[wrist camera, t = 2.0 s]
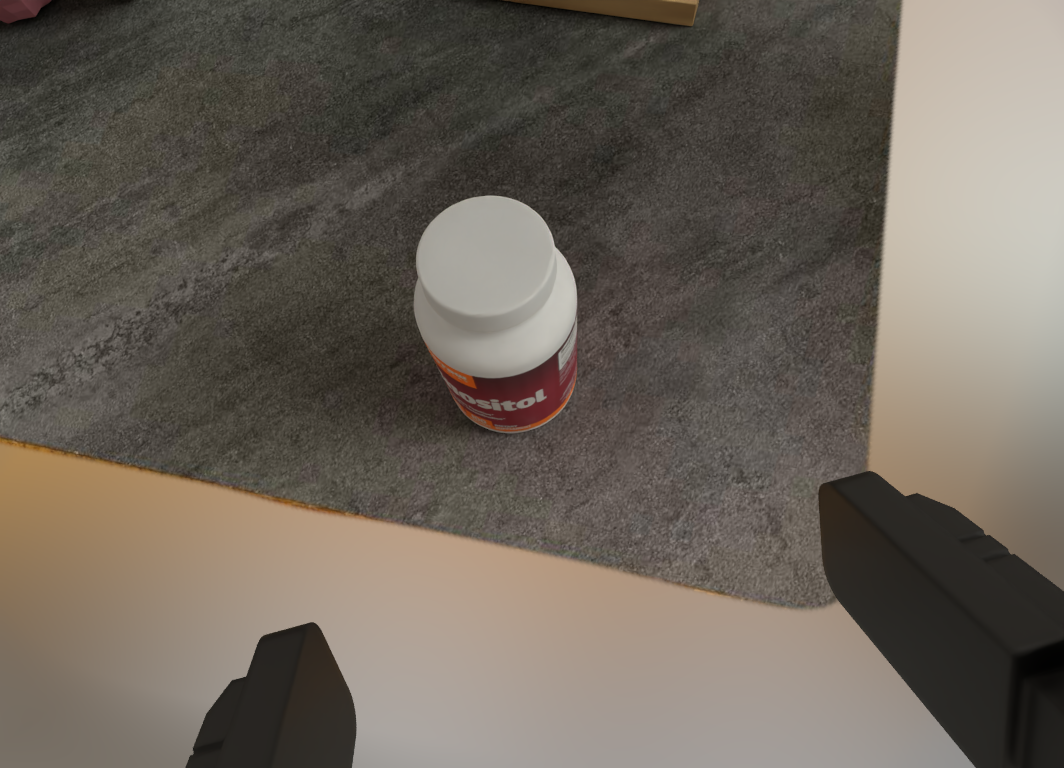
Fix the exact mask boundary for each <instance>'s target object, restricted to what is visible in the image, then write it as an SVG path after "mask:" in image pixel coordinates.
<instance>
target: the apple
mask: <svg viewBox="0 0 1064 768" xmlns="http://www.w3.org/2000/svg"><path fill="white" fill-rule="evenodd" d="M51 1H52V0H0V20H1V21H3V22H5V23H8V24H9V23H12V22H14V21H17V20H21V19H26V18H31V17H36V15H37V13H38V12H39V10H40V9H41V8H42V7H43V6H45V5H47V4H48V3H49V2H51Z"/></svg>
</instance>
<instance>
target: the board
mask: <svg viewBox="0 0 1064 768" xmlns="http://www.w3.org/2000/svg"><path fill="white" fill-rule="evenodd" d="M502 1H510V2H517V3H524V4H531V5H539V6H546V7H553V8H561V9H568V10H575V11H583V12H590V13H597V14H605V15H612V16H619V17H627V18H634V19H641V20H649V21H656V22H663V23H671V24H678V25H685V26H693V23H694V19H695V15H696V11H697V8H698V4H699V0H502Z"/></svg>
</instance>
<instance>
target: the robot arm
mask: <svg viewBox="0 0 1064 768" xmlns="http://www.w3.org/2000/svg"><path fill="white" fill-rule="evenodd" d="M818 495H819V513H820V529H821V545H822V560H823V566H824V571H825V574H826V577H827V580H828V582H829V585H830V587H831V589H832V591H833V593H834V594H835V596H836V598H837V599H838V601H839V602H840V603H841V605H842V606H843V607H844V608H845V609H846V611H847V612H848V613H849V614H850V615H851V617H852V618H853V619H854V620H855V621H856V623H857V624H858V625H859V626H860V628H861V629H862V630H863V631H864V632H865V634H866V635H867V636H868V637H869V638H870V640H871V641H872V642H873V643H874V645H875V646H876V647H877V648H878V649H879V651H880V652H881V653H882V654H883V656H884V657H885V658H886V659H887V660H888V661H889V663H890V664H891V665H892V666H893V668H894V669H895V670H896V671H897V672H898V674H899V675H900V676H901V677H902V679H903V680H904V681H905V682H906V683H907V685H908V686H909V687H910V688H911V690H912V691H913V692H914V693H915V694H916V696H917V697H918V698H919V699H920V700H921V702H922V703H923V704H924V705H925V707H926V708H927V709H928V710H929V711H930V713H931V714H932V715H933V716H934V717H935V719H936V720H937V721H938V722H939V723H940V725H941V726H942V727H943V728H944V730H945V731H946V732H947V733H948V734H949V736H950V737H951V738H952V739H953V740H954V742H955V743H956V744H957V745H958V746H959V748H960V749H961V750H962V751H963V752H964V754H965V755H966V756H967V757H968V759H969V760H970V761H971V762H972V763H973V765H974V766H975V767H976V768H1064V591H1062V590H1061V589H1060V588H1059V587H1057V586H1056V585H1055V584H1053V583H1052V582H1051V581H1049V580H1048V579H1047V578H1045V577H1044V576H1043V575H1041V574H1040V573H1039V572H1037V571H1036V570H1035V569H1034V568H1032V567H1031V566H1029V565H1028V564H1027V563H1026V562H1024V561H1023V560H1022V559H1020V558H1019V557H1018V556H1016V555H1015V554H1013V555H1011V554H1010V553H1009V551H1008V549H1007V548H1006V547H1005V546H1003V545H1002V544H1001V543H999V542H998V541H997V540H995V539H994V538H993V537H991V536H990V535H987V536H986V535H985V534H984V531H983V530H982V529H981V528H980V527H978V526H977V525H976V524H974V523H973V522H972V521H970V520H969V519H968V518H967V517H965V516H964V515H962V514H961V513H960V512H959V511H957V510H956V509H955V508H952V507H950V506H947V505H945V504H942V503H940V502H937V501H935V500H932V499H930V498H928V497H925V496H922V495H920V494H918V493H916V494H912V495H909V496H904V495H903V494H901V493H900V492H899V491H898V490H896V489H895V488H894V487H893V486H891V485H890V484H889V483H888V482H887V481H885V480H884V479H883V478H882V477H881V476H879V475H878V474H876V473H874V472H872V471H867V472H863V473H860V474H856V475H852V476H849V477H845V478H841V479H838V480H834V481H831V482H827V483H823V484H822V485H821V486H820V488H819V494H818ZM355 739H356V715H355V708H354V703H353V699H352V696H351V693H350V690H349V688H348V686H347V684H346V682H345V680H344V678H343V676H342V673H341V671H340V669H339V667H338V665H337V663H336V661H335V658H334V656H333V654H332V652H331V650H330V648H329V646H328V643H327V641H326V639H325V637H324V635H323V633H322V631H321V629H320V628H319V626H318V625H317V624H315V623H313V622H311V623H307V624H303V625H300V626H296V627H293V628H289V629H286V630H281V631H278V632H274V633H271V634H267V635H264V636H263V637H261V639H260V640H259V642H258V644H257V647H256V650H255V653H254V656H253V659H252V662H251V665H250V668H249V670H248V673H247V676H246V677H243V678H240V679H236V680H232V681H231V682H230V684H229V685H228V686H227V688H226V689H225V690H224V691H223V693H222V694H221V695H220V697H219V698H218V699H217V701H216V702H215V703H214V705H213V706H212V707H211V709H210V710H209V711H208V713H207V714H206V716H205V719H204V721H203V724H202V727H201V729H200V732H199V734H198V737H197V739H196V742H195V744H194V747H193V751H194V754H193V755H191V756H190V757H189V760H188V763H187V765H186V768H352V762H353V755H354V747H355Z"/></svg>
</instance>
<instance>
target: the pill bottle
mask: <svg viewBox="0 0 1064 768" xmlns="http://www.w3.org/2000/svg"><path fill="white" fill-rule="evenodd" d="M416 269H417V274H418V280H417V284H416V287H415V293H414V313H415V318H416V322H417V325H418V328H419V331H420V333H421V336H422V338H423V340H424V342H425V344H426V346H427V348H428V350H429V352H430V354H431V355H432V357H433V359H434V361H435V363H436V365H437V367H438V369H439V371H440V373H441V375H442V377H443V379H444V381H445V383H446V385H447V387H448V389H449V391H450V393H451V395H452V397H453V399H454V401H455V402H456V404H457V405H458V407H459V408H460V409H461V411H462V412H463V413H464V414H465V415H466V416H467V417H468V418H469V419H470V420H472V421H473V422H475V423H476V424H478V425H480V426H482V427H484V428H486V429H489V430H492V431H495V432H500V433H519V432H525V431H530V430H533V429H536V428H538V427H540V426H542V425H544V424H546V423H547V422H549V421H550V420H552V419H553V418H554V417H555V416H557V415H558V414H559V413H560V412H561V410H562V409H563V408H564V407H565V405H566V404H567V402H568V400H569V399H570V397H571V394H572V392H573V389H574V386H575V381H576V375H577V290H576V284H575V280H574V276H573V274H572V271H571V268H570V266H569V265H568V263H567V261H566V259H565V258H564V256H563V255H562V254H561V253H560V251H559V250H558V249H557V248H556V247H555V246H554V241H553V237H552V234H551V232H550V230H549V228H548V226H547V224H546V223H545V221H544V220H543V219H542V218H541V216H540V215H539V214H538V213H537V212H535V211H534V210H533V209H531V208H530V207H529V206H527V205H525V204H523V203H521V202H519V201H517V200H514V199H511V198H507V197H501V196H480V197H474V198H470V199H466V200H463V201H461V202H458V203H456V204H454V205H452V206H450V207H449V208H447V209H446V210H444V211H443V212H441V213H440V214H439V215H438V216H437V217H436V218H435V219H434V220H433V221H432V222H431V223H430V224H429V226H428V227H427V228H426V230H425V232H424V233H423V235H422V237H421V240H420V242H419V245H418V248H417V254H416Z"/></svg>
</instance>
